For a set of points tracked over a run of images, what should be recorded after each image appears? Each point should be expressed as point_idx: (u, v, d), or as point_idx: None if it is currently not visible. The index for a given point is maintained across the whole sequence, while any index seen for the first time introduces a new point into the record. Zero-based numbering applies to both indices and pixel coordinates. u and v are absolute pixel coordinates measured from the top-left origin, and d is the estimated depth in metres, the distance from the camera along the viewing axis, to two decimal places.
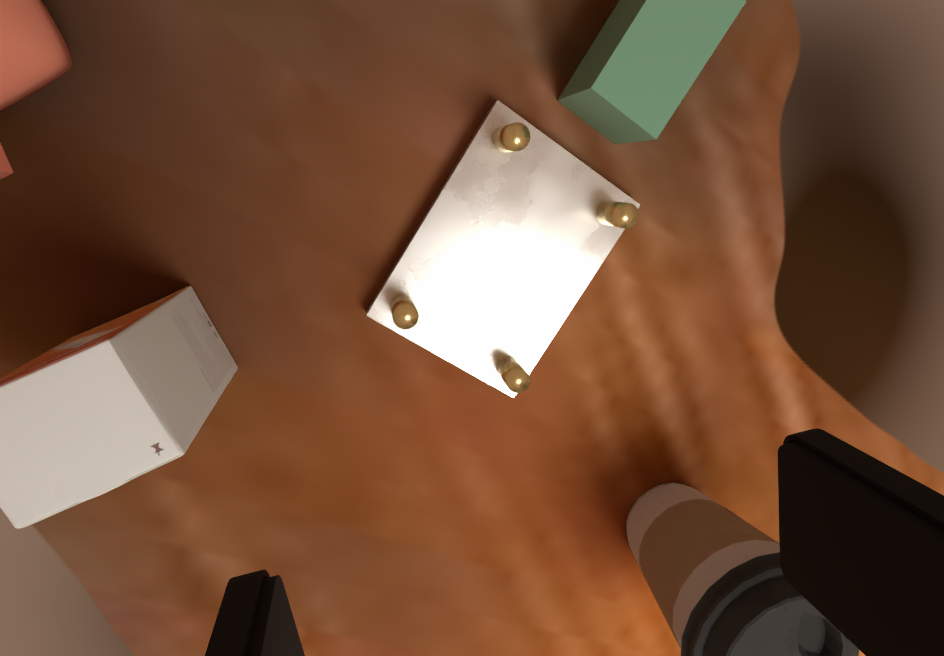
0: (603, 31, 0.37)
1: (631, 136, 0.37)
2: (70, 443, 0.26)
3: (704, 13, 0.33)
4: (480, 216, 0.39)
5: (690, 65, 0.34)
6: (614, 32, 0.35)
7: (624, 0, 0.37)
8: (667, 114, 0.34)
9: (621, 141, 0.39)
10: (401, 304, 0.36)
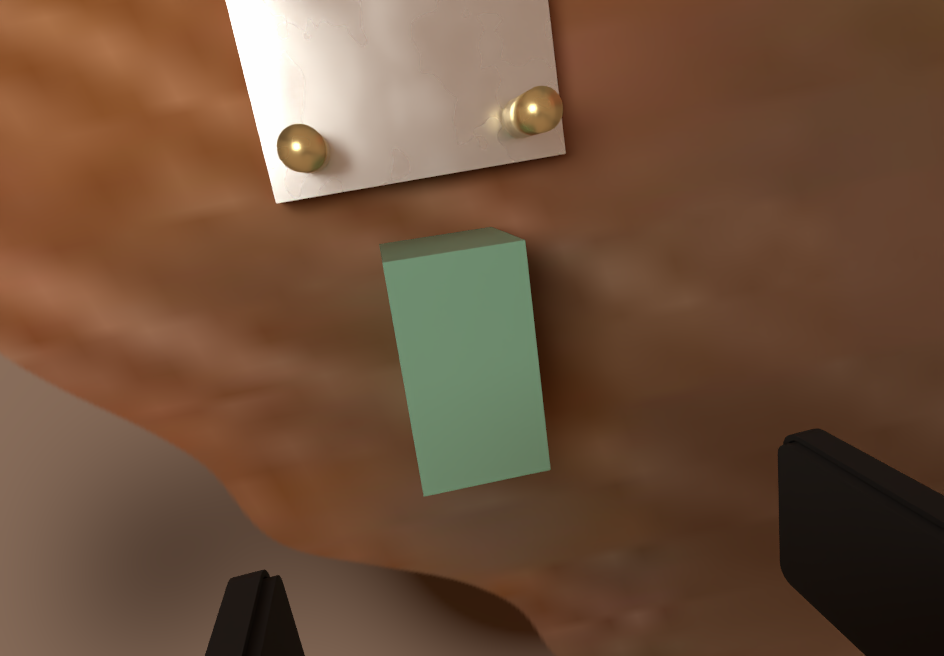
0: None
1: (395, 251, 0.22)
2: None
3: (461, 439, 0.22)
4: None
5: (423, 379, 0.21)
6: None
7: None
8: (397, 303, 0.20)
9: (384, 247, 0.24)
10: None
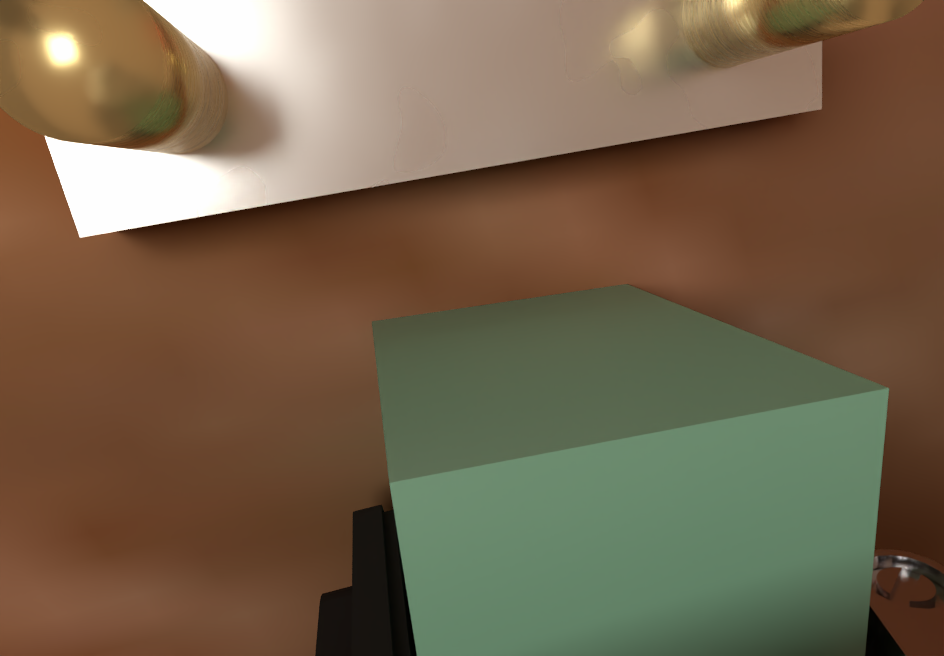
0: None
1: (422, 382, 0.07)
2: None
3: None
4: None
5: None
6: None
7: None
8: (440, 617, 0.06)
9: (386, 342, 0.09)
10: None
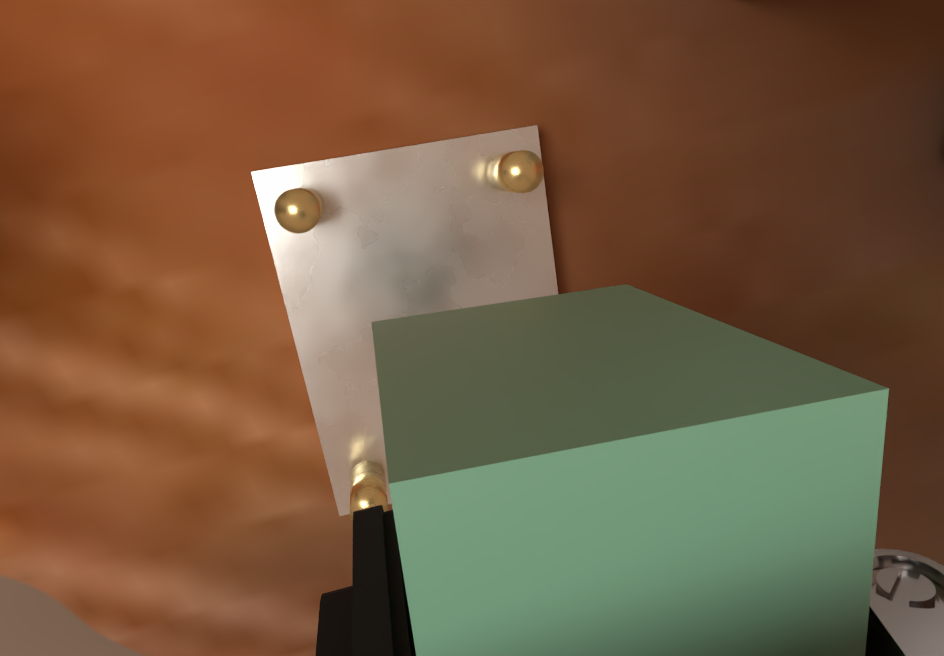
0: None
1: (421, 382, 0.07)
2: None
3: None
4: None
5: None
6: None
7: None
8: (439, 618, 0.06)
9: (386, 343, 0.09)
10: (539, 182, 0.23)
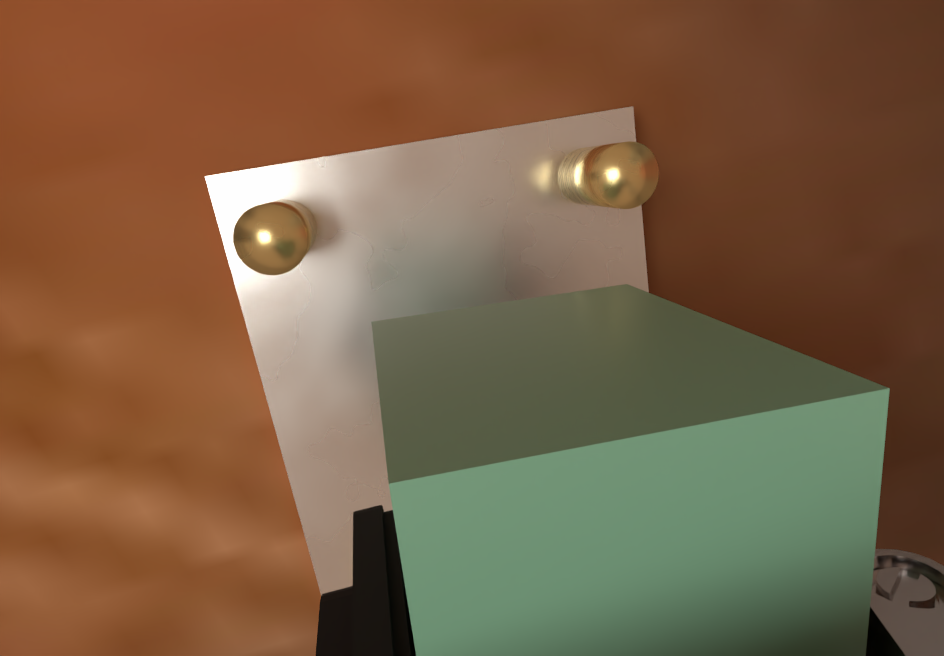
0: None
1: (421, 382, 0.07)
2: None
3: None
4: None
5: None
6: None
7: None
8: (439, 618, 0.06)
9: (386, 342, 0.09)
10: None
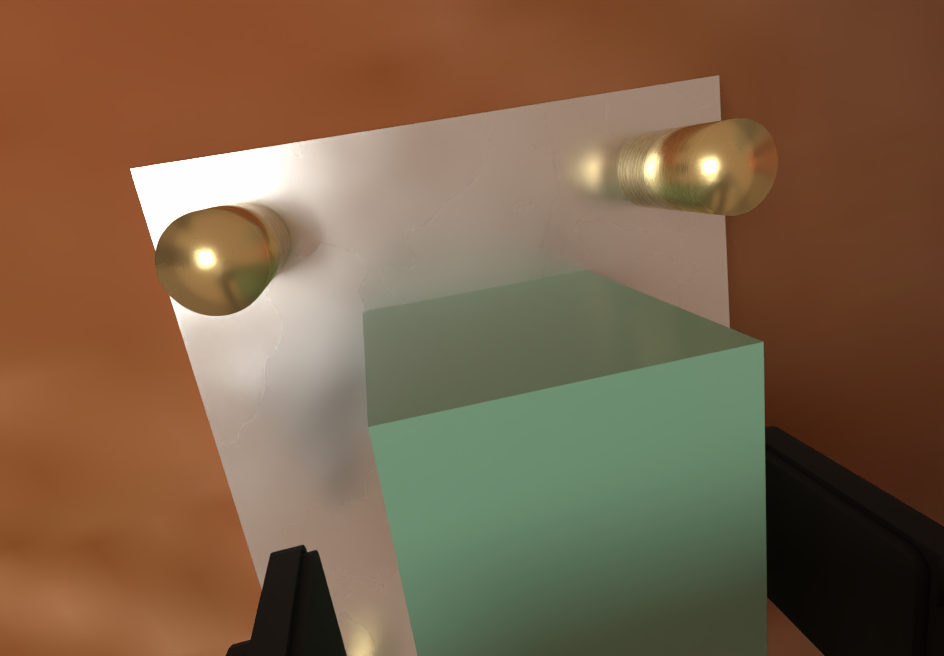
0: None
1: (400, 357, 0.09)
2: None
3: None
4: None
5: None
6: None
7: None
8: (414, 533, 0.07)
9: (373, 328, 0.11)
10: None
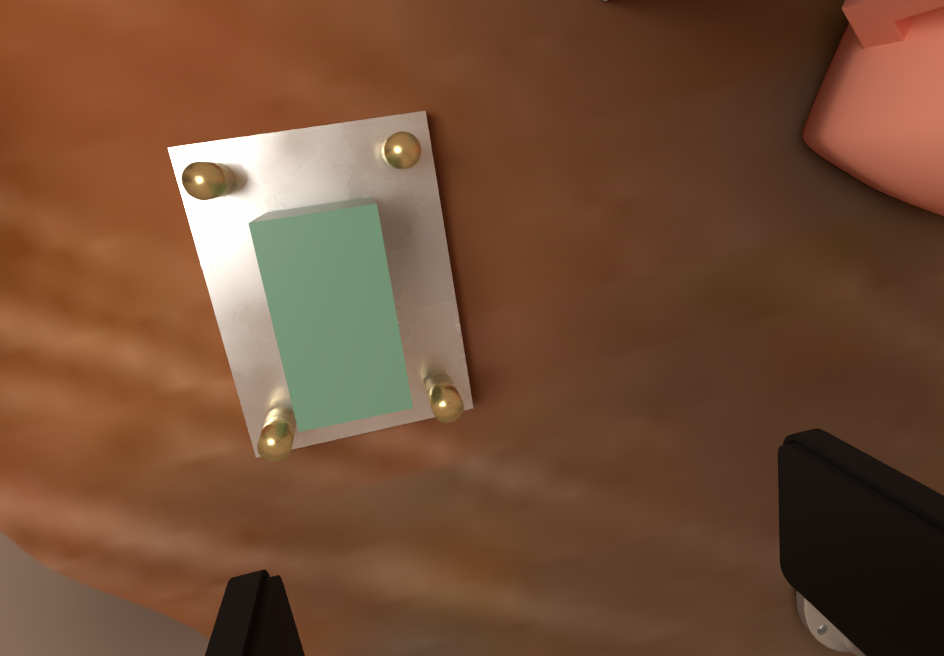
0: None
1: (269, 216, 0.25)
2: None
3: (330, 380, 0.25)
4: (400, 307, 0.31)
5: (292, 327, 0.24)
6: None
7: None
8: (264, 259, 0.23)
9: (267, 213, 0.27)
10: (418, 160, 0.27)
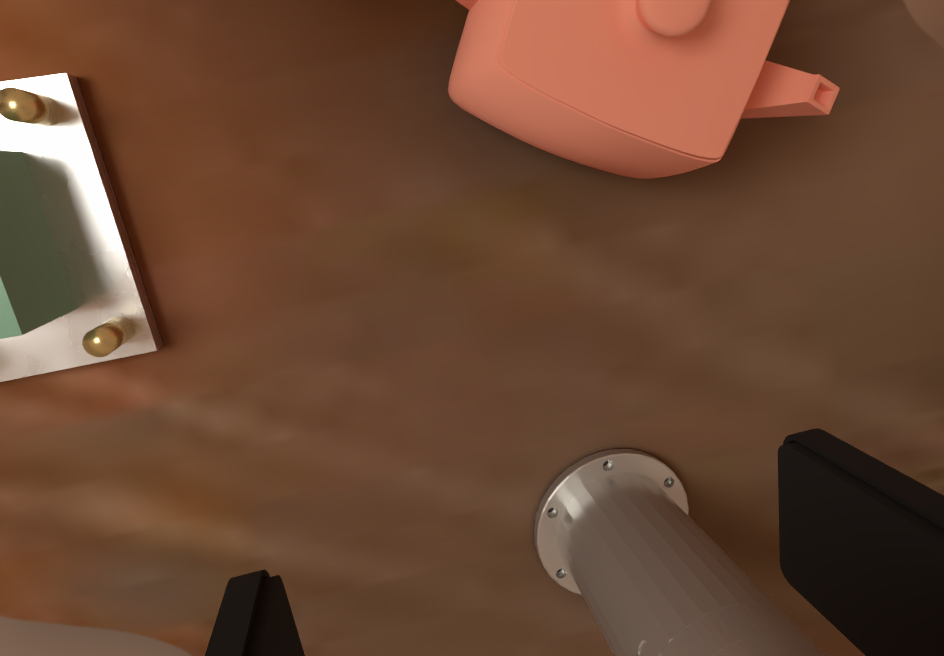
0: (44, 240, 0.33)
1: None
2: None
3: None
4: (68, 254, 0.34)
5: None
6: (12, 232, 0.30)
7: (53, 278, 0.33)
8: None
9: None
10: (31, 113, 0.30)
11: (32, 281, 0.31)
